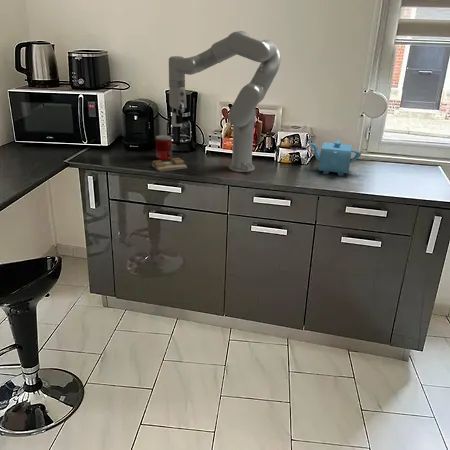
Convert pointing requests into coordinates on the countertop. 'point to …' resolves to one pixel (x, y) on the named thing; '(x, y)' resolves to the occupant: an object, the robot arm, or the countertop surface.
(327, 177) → the countertop surface
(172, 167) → the board
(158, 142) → the canned food
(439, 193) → the countertop surface
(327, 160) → the teakettle
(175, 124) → the tab
